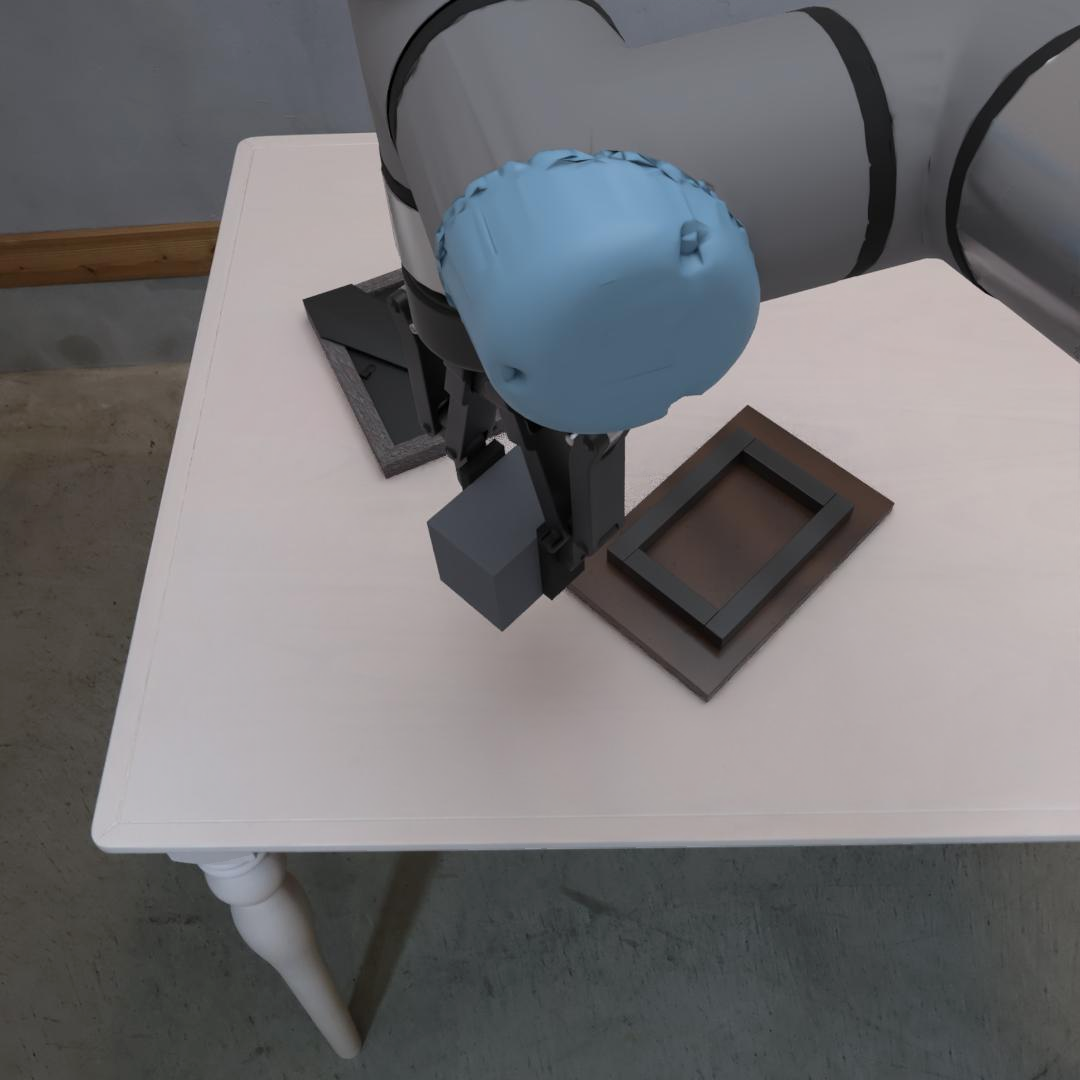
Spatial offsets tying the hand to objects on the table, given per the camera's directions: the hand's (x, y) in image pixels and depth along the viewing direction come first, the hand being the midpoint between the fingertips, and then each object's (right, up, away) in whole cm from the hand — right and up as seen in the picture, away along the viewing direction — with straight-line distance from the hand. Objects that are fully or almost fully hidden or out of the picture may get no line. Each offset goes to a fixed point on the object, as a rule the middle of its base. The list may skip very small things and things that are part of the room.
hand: (527, 551), depth 64 cm
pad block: (0, 0, 0) cm, 0 cm away
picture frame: (-8, +14, +24) cm, 29 cm away
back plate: (+14, 0, +14) cm, 19 cm away
